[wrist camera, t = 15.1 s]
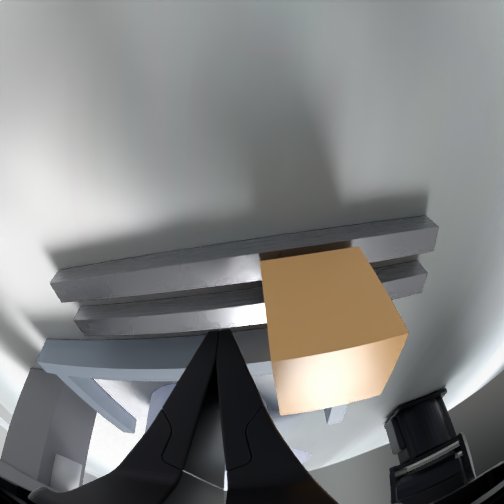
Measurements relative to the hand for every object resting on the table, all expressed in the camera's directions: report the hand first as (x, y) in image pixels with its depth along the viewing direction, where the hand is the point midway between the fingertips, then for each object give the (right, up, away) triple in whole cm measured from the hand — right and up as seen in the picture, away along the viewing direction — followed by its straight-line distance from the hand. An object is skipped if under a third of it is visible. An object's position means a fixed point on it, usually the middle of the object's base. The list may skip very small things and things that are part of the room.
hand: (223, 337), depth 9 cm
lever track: (0, +2, +2) cm, 3 cm away
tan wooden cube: (+3, +2, +2) cm, 4 cm away
